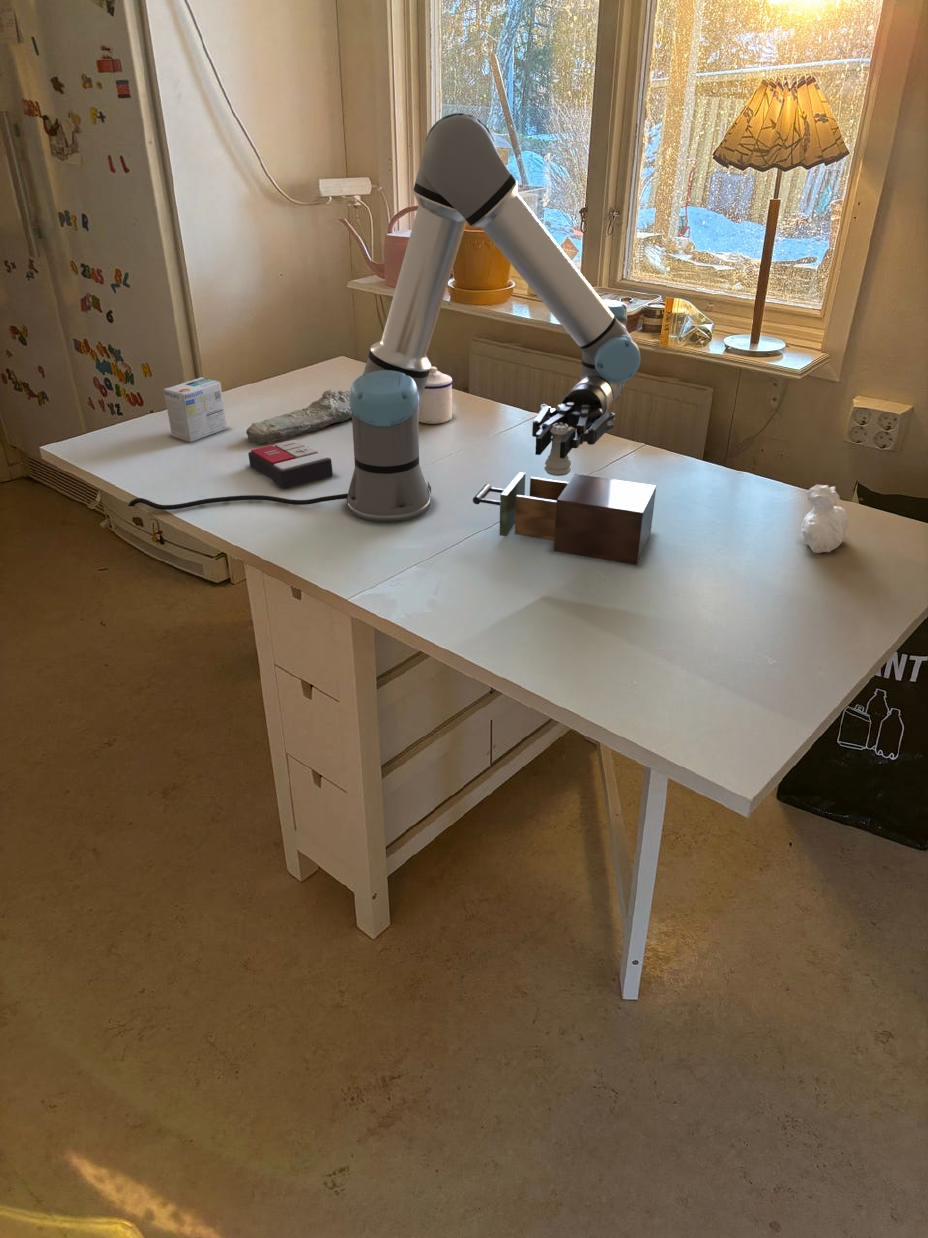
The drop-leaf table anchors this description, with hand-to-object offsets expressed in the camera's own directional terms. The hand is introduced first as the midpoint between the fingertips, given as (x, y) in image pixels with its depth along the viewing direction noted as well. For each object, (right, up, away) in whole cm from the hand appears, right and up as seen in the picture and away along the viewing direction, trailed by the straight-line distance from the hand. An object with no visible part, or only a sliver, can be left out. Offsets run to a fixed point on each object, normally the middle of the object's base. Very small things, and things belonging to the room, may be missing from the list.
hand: (550, 448), depth 143 cm
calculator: (-48, +2, +38) cm, 61 cm away
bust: (+47, -14, +11) cm, 50 cm away
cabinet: (+10, -14, +11) cm, 21 cm away
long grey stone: (-47, +17, +61) cm, 79 cm away
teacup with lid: (-22, +20, +66) cm, 72 cm away
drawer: (-2, -11, +15) cm, 18 cm away
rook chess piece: (+2, -3, +8) cm, 8 cm away
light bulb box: (-72, +14, +57) cm, 93 cm away
